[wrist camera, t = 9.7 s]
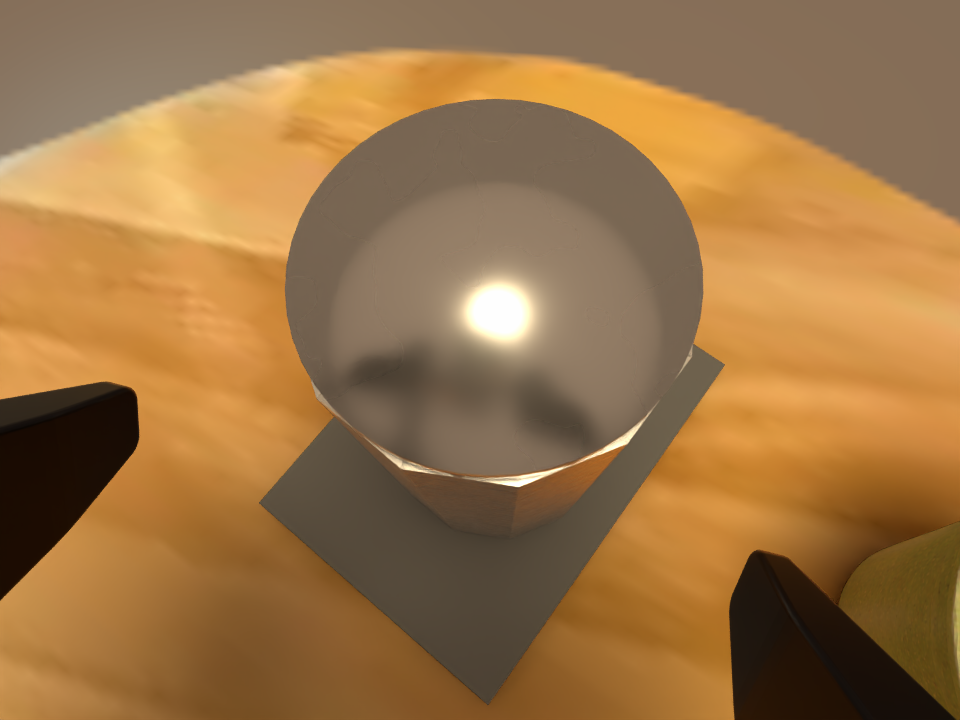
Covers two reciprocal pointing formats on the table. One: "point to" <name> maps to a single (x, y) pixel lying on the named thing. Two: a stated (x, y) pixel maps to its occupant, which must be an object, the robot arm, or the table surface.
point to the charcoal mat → (464, 541)
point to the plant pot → (914, 609)
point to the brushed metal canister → (494, 304)
